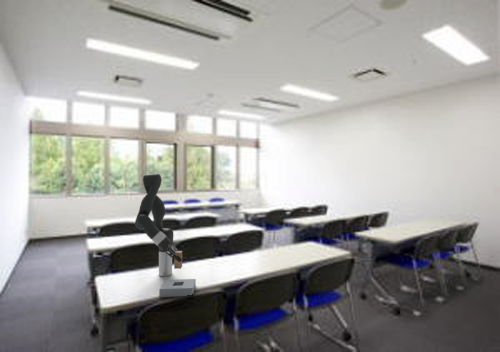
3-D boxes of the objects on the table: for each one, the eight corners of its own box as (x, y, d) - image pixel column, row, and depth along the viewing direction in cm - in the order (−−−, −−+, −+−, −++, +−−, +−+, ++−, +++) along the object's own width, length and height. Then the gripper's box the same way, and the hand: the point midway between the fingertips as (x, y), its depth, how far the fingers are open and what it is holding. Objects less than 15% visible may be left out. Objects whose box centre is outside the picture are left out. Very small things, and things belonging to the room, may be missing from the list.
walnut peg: (175, 266, 166) (175, 251, 166) (182, 266, 166) (182, 251, 166) (174, 268, 162) (174, 252, 162) (180, 268, 162) (181, 252, 162)
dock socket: (165, 286, 170) (165, 279, 170) (195, 285, 172) (195, 278, 172) (159, 296, 155) (159, 289, 155) (192, 295, 157) (192, 287, 157)
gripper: (163, 238, 157) (184, 258, 157) (168, 233, 171) (187, 252, 172) (153, 247, 156) (174, 268, 157) (160, 242, 170) (179, 261, 171)
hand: (181, 259), depth 164 cm, fingers closed on walnut peg, 4 cm apart
